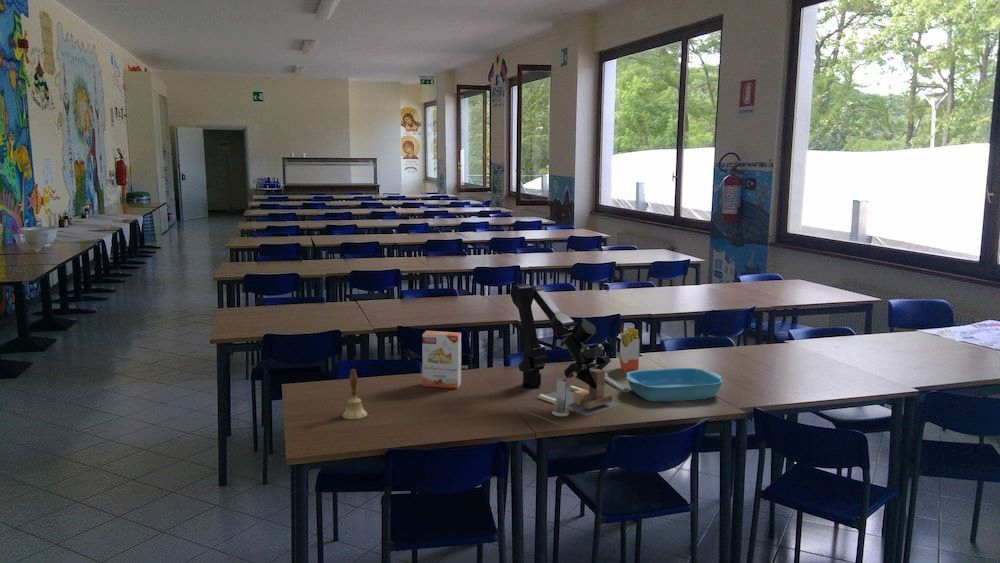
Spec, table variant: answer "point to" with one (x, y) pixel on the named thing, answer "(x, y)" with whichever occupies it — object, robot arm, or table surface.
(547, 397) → the mat
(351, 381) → the hand bell
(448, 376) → the cracker box
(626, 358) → the french fries container
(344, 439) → the table surface
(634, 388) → the casserole dish
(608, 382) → the adjustable wrench
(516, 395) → the table surface
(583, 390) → the terracotta block
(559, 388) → the grey metal stick
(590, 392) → the wooden block on base
